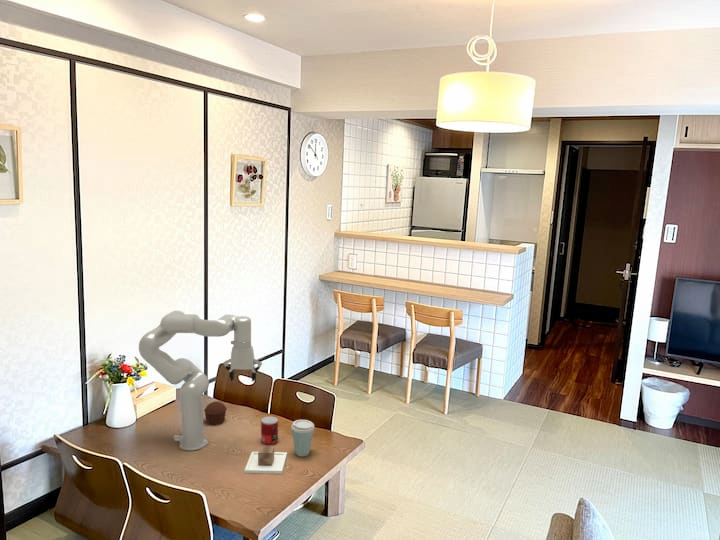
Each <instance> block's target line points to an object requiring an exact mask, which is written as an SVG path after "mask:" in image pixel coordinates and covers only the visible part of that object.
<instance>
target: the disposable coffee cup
mask: <svg viewBox="0 0 720 540" xmlns="http://www.w3.org/2000/svg"><path fill="white" fill-rule="evenodd" d="M290 429H291V432H292V440H293V446H294V449H293V450H294V454H295V455H296V456H298V457H306V456H307V457H308V455H309V454H310V451H311V445H312V440H313V436H314V435H313V434H314V430H315V424H314V422H312V421H310V420H308V419H296V420H294V421H292V424H291V427H290Z"/></svg>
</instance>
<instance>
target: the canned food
mask: <svg viewBox="0 0 720 540" xmlns="http://www.w3.org/2000/svg"><path fill="white" fill-rule="evenodd" d="M260 421H261V422H260V424H261V425H260V434H261V442H262V444H263V445H265V446H272V445H274V444H277V443H278V441H279V418H277V417H276V416H271V415H270V416H264V417H262V418H261V420H260ZM271 444H272V445H271Z"/></svg>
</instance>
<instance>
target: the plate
mask: <svg viewBox="0 0 720 540" xmlns="http://www.w3.org/2000/svg"><path fill="white" fill-rule="evenodd" d="M258 452H259V451H251V453H250V455H249V458H248V460H247V463H246V466H245V467H244V474H259V475H261V474H263V475H264V474H266V475H269V474H272V475H273V474H274V475H282V474H283V472H284V468H285V464H286V460H287V457H288V452H286V451H285V452H283V451H274V461H273V464H272V466H258Z"/></svg>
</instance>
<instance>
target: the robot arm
mask: <svg viewBox="0 0 720 540" xmlns="http://www.w3.org/2000/svg"><path fill="white" fill-rule="evenodd" d="M230 332H233V340H231V341H230V345H233V346H232V347H231V352H230V358H229V359H227V360H225V361H224V362H223V363H222V364H223V365H224V368H225V369H226V370H227V371H228V372H229V379H230V381H233V380H235V379H234V378H235V371H234V370H241V371H242V370H246V371H251V381H252V382H255V380H256V379H257V372H258V371H259V370H260V368H261V367H262V365H263V362H262V361H259V360H257V359H256V358H255V353H254V347H253V345H252V320H251V318H250V317H249V316H245V315H243V316H239V315H238V316H237V315H233V314H224V315H222V316H221V317H220V318H218V319H203V318H200V316H199V315H198V314H196V313H194V314H189V313H188V314H187V313H185V312H183V311H181V310H173V311H171V312H169V313H167V314H165V315H164V316H163V317H162V318H161V319H160V324H159V325H157V327H155V328H153V329H151V330H149V331H148V332H147V333H145V334H144V335H142V337H141V338H140V340H139V343H138V352H139V354H140V357H141V358H142V359H143V360H144V361H145V362H147V364H149V365H150V366H151V367H152V368H153V369H154V370H155V371H156V372H158V374H160V376H161V377H163V378H164V380H166V381H167V382H168V383H169V384H170V385H175V386H176V385H179V384H180V383H181V382H184V383H183V384H181V387H180V389H179V393H178V395H179V400H180V407H181V409H180V410H181V428H182V429H181V430H182V434H181V435H180V434H179V435H178V434H175V435H173V440H174V442H179V444H178V445H179V446H178V447H179V448H180V449H181V450H182V451H188V452H189V451H190V452H193V451H198V450H201V449H203V448H205V447H206V446H207V445H208V440H207V438H205V436H204V406H203V401H202V396H203V394H204V393H205V392H206V391H207V390H208V389H209V386H210V381H209V378H208V377H207V375H206V374H205V373H204V372H203V371H202V370H201V369H200V368H199V367H197V365H195V364H194V363H193V362H192V361H191V360H189V359H187V358H184V357H180V358H177V359H174V358H172V357H171V355H169V354H168V353H167V352H166V351H163V350H162V349H160V348H161V347H163V346H164V345H166V344H167V343H168V342H169V341H170V340H171V339H172V338H173V337H175V335H176V334H196V335H198V336H202V337H209V338H211V337H217V338H218V337H223V336H226V335H228V334H229V333H230ZM229 364H230V365H229ZM255 364H256V365H257V366H256V367H255Z"/></svg>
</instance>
